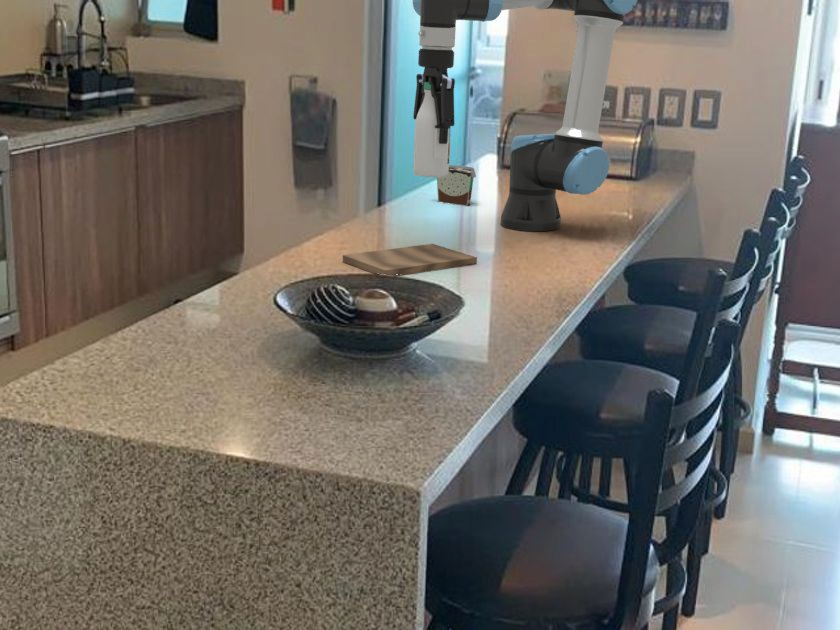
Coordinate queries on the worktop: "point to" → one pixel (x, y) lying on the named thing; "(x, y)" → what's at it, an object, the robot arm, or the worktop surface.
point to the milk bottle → (428, 140)
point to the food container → (456, 185)
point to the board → (409, 259)
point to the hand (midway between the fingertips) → (431, 156)
